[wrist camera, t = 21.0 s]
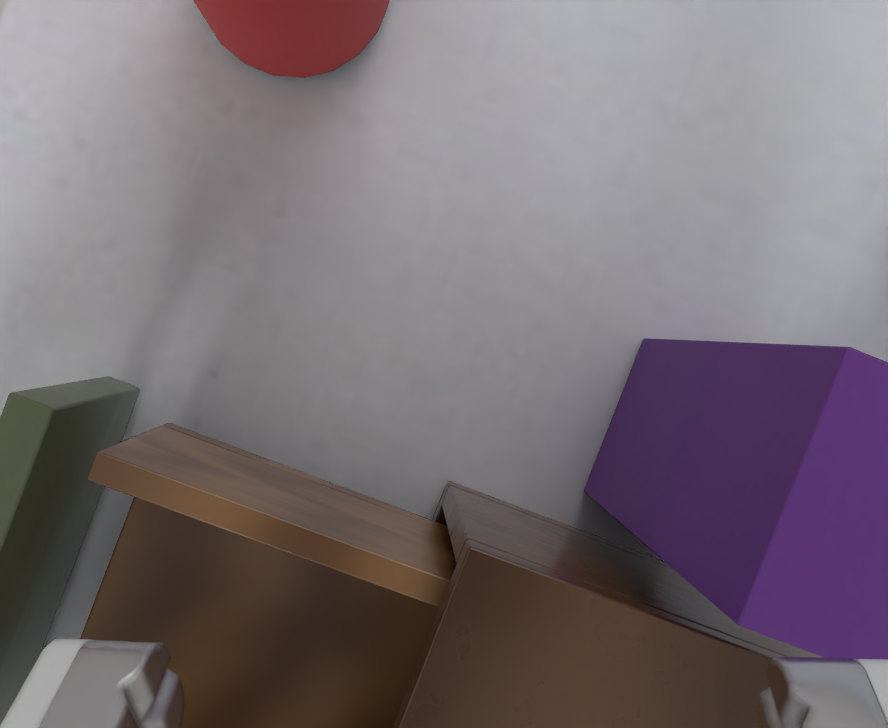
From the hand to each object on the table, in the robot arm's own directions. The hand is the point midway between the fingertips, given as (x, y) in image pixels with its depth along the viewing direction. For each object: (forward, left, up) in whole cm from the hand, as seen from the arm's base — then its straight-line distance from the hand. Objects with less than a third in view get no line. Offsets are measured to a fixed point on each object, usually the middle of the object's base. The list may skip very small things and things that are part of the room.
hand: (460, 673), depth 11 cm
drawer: (-7, +6, -17) cm, 19 cm away
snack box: (+4, -8, -18) cm, 20 cm away
